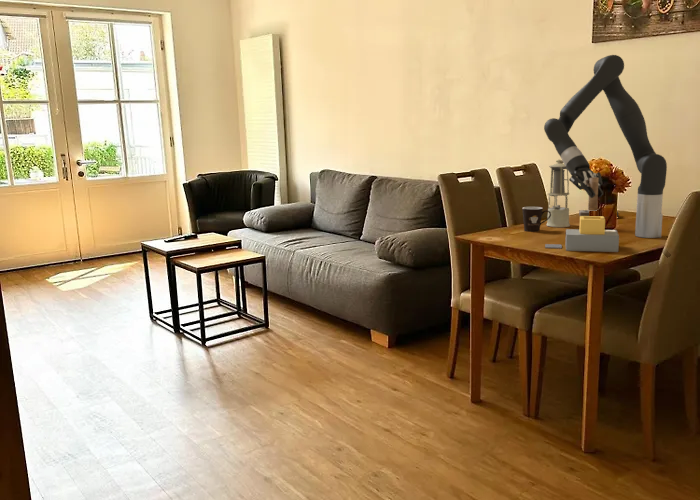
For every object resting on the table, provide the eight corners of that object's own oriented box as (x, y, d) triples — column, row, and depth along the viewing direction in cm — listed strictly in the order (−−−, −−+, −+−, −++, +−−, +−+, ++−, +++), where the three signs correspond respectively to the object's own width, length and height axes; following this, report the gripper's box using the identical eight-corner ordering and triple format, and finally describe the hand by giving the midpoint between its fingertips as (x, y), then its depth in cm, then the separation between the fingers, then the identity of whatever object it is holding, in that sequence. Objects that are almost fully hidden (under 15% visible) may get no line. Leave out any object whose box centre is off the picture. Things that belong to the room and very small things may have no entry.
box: (618, 218, 304) (618, 211, 304) (580, 218, 309) (580, 212, 309) (616, 215, 314) (616, 209, 314) (579, 216, 319) (579, 209, 319)
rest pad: (561, 245, 246) (561, 244, 246) (561, 248, 241) (561, 247, 241) (545, 245, 248) (545, 244, 248) (545, 248, 242) (545, 247, 242)
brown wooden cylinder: (597, 209, 238) (598, 177, 236) (597, 210, 235) (598, 178, 233) (588, 209, 239) (589, 177, 237) (588, 210, 236) (589, 178, 234)
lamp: (543, 226, 289) (544, 160, 284) (552, 222, 300) (554, 158, 294) (566, 228, 284) (568, 160, 278) (574, 223, 294) (577, 158, 288)
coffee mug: (519, 231, 279) (520, 208, 277) (524, 228, 286) (524, 206, 284) (547, 233, 273) (547, 209, 271) (550, 229, 281) (551, 207, 279)
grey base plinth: (615, 245, 243) (616, 215, 241) (618, 251, 232) (619, 220, 229) (565, 244, 248) (566, 215, 246) (566, 250, 237) (567, 219, 235)
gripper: (565, 155, 237) (587, 191, 229) (594, 153, 242) (618, 187, 234) (555, 169, 243) (577, 204, 234) (584, 166, 248) (606, 200, 240)
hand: (597, 195), depth 234 cm, fingers closed on brown wooden cylinder, 3 cm apart
